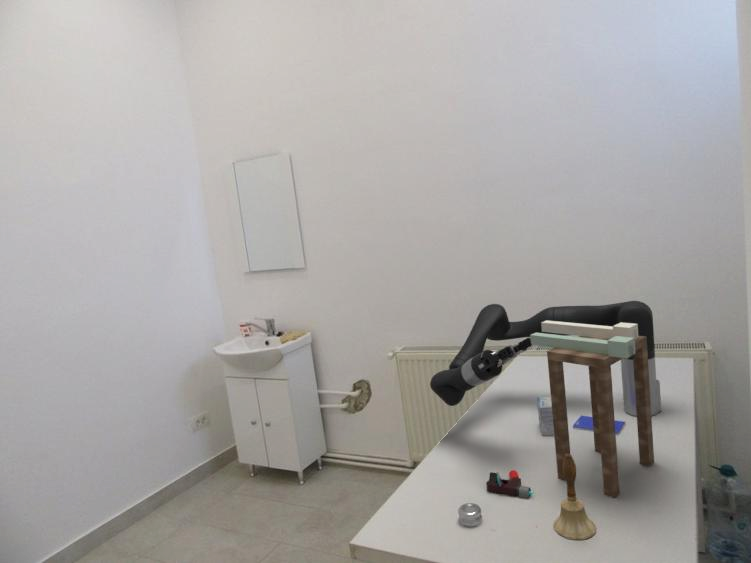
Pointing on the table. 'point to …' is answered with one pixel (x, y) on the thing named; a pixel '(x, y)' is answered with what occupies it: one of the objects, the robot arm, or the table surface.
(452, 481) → the table surface
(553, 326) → the cream stick
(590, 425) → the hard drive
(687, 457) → the table surface
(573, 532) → the hand bell
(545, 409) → the medicine box
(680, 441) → the table surface
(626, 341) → the sage stick
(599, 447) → the walnut stand
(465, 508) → the metal grooved wheel
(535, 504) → the table surface
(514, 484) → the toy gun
